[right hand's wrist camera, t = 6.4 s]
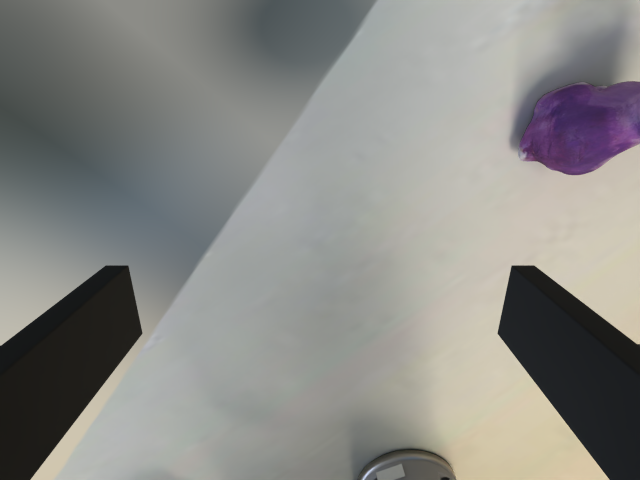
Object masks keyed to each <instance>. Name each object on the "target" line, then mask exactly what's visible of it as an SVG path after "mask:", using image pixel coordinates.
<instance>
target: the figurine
mask: <svg viewBox="0 0 640 480" xmlns="http://www.w3.org/2000/svg"><path fill="white" fill-rule="evenodd" d="M638 144H640V82H635V81H628V82H622V83H617V84H614V85H611V86H609V87H607V86H595V87H594V86H593V85H591V84H589V83H585V82H579V83H575V84H571V85H567V86H565V87H562V88H559V89H556V90H554V91H551V92H549V93H547V94H545V95H543V96H542V97H541V99H540V100H539V101H538V102H537V104H536V107H535V109H534V115H533V118H532V120H531V123H530V124H529V126H528V127H527V129H526V131H525V133H524V135H523V137H522V139H521V141H520V144H519V148H518V155H519V159H520V160H522V161H538V162H540V163H542V164H544V165H546V167H548V168H549V169H551V170H555V171H560V172H562V173H564V174H568V175H582V174H586V173H589V172H592V171H594V170H596V169H597V168H599V167H601V166H602V165H603V164H605V163H606V162H607V161H609V160H610V159H611V158H613V157H614V156H616V155H617V154H619V153H621V152H623V151H625V150H627V149H629V148H631V147H634V146H636V145H638Z"/></svg>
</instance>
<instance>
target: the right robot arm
mask: <svg viewBox="0 0 640 480" xmlns="http://www.w3.org/2000/svg"><path fill="white" fill-rule="evenodd" d="M141 335H142V329H141V324H140V320H139V315H138V310H137V305H136V301H135V296H134V291H133V286H132V281H131V277H130V272H129V267H128V266H105V267H103V268H102V269H101V270H99V271H98V272H97V273H96V274H94V275H93V276H92V277H90V278H89V279H88V280H86V281H85V282H84V283H83V284H81V285H80V286H79V287H77V288H76V289H75V290H73V291H72V292H71V293H69V294H68V295H67V296H66V297H64V298H63V299H62V300H60V301H59V302H58V303H56V304H55V305H54V306H52V307H51V308H50V309H49V310H47V311H46V312H45V313H43V314H42V315H41V316H39V317H38V318H37V319H35V320H34V321H33V322H32V323H30V324H29V325H28V326H26V327H25V328H24V329H22V330H21V331H20V332H18V333H17V334H16V335H15V336H13V337H12V338H11V339H9V340H8V341H7V342H5V343H4V344H3V345H1V346H0V480H30V479H31V478H32V477H33V475H34V474H35V473H36V472H37V470H38V469H39V468H40V466H41V465H42V464H43V462H44V461H45V460H46V458H47V457H48V456H49V455H50V453H51V452H52V451H53V449H54V448H55V447H56V445H57V444H58V443H59V442H60V440H61V439H62V438H63V436H64V435H65V434H66V432H67V431H68V430H69V428H70V427H71V426H72V425H73V423H74V422H75V421H76V419H77V418H78V417H79V415H80V414H81V413H82V412H83V410H84V409H85V408H86V406H87V405H88V404H89V402H90V401H91V400H92V399H93V397H94V396H95V395H96V393H97V392H98V391H99V389H100V388H101V387H102V385H103V384H104V383H105V381H106V380H107V379H108V378H109V376H110V375H111V374H112V372H113V371H114V370H115V368H116V367H117V366H118V365H119V363H120V362H121V361H122V359H123V358H124V357H125V355H126V354H127V353H128V352H129V350H130V349H131V348H132V346H133V345H134V344H135V342H136V341H137V340H138V338H139V337H140V336H141ZM498 335H499V336H500V337H501V338H502V340H503V341H504V342H505V344H506V345H507V346H508V348H509V349H510V350H511V352H512V353H513V354H514V355H515V357H516V358H517V359H518V361H519V362H520V363H521V365H522V366H523V367H524V368H525V370H526V371H527V372H528V374H529V375H530V376H531V378H532V379H533V380H534V382H535V383H536V384H537V385H538V387H539V388H540V389H541V391H542V392H543V393H544V395H545V396H546V397H547V399H548V400H549V401H550V402H551V404H552V405H553V406H554V408H555V409H556V410H557V412H558V413H559V414H560V415H561V417H562V418H563V419H564V421H565V422H566V423H567V425H568V426H569V427H570V429H571V430H572V431H573V432H574V434H575V435H576V436H577V438H578V439H579V440H580V442H581V443H582V444H583V445H584V447H585V448H586V449H587V451H588V452H589V453H590V455H591V456H592V457H593V459H594V460H595V461H596V462H597V464H598V465H599V466H600V468H601V469H602V470H603V472H604V473H605V474H606V475H607V477H608V478H609V479H610V480H640V344H636V343H635V342H633V341H632V340H631V339H629V338H628V337H627V336H625V335H624V334H623V333H622V332H620V331H619V330H618V329H616V328H615V327H614V326H612V325H611V324H610V323H608V322H607V321H606V320H605V319H603V318H602V317H601V316H599V315H598V314H597V313H595V312H594V311H593V310H591V309H590V308H589V307H588V306H586V305H585V304H584V303H582V302H581V301H580V300H578V299H577V298H576V297H574V296H573V295H572V294H571V293H569V292H568V291H567V290H565V289H564V288H563V287H561V286H560V285H559V284H557V283H556V282H555V281H554V280H552V279H551V278H550V277H548V276H547V275H546V274H544V273H543V272H542V271H541V270H539V269H538V268H537V267H535V266H512V267H511V272H510V277H509V281H508V286H507V291H506V296H505V300H504V305H503V310H502V315H501V320H500V324H499V329H498ZM358 480H456V477H455V475H454V472H453V470H452V468H451V467H450V465H449V464H448V463H447V462H446V461H445V460H443V459H442V458H440V457H438V456H436V455H434V454H432V453H429V452H425V451H419V450H401V451H395V452H391V453H388V454H385V455H383V456H380V457H378V458H377V459H375V460H373V461H372V462H371V463H369V464H368V465H367V466H366V467H365V468H364V469H363V471H362V472H361V474H360V475H359V478H358Z"/></svg>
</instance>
